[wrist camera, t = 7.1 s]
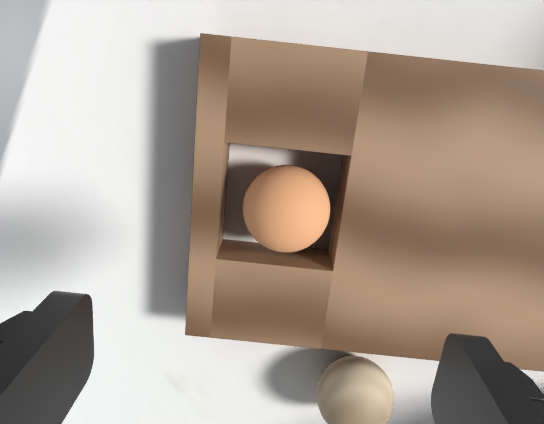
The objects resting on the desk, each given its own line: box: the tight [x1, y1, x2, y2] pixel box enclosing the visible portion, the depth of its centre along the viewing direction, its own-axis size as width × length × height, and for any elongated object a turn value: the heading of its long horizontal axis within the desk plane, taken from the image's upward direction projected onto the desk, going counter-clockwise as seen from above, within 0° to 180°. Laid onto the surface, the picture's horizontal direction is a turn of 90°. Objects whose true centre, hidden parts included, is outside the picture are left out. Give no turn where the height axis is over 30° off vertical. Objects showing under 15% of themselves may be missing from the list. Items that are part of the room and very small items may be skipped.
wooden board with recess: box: [185, 33, 544, 371], centre depth 22 cm, size 14×20×2 cm
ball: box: [243, 165, 330, 252], centre depth 21 cm, size 4×4×4 cm
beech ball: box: [317, 356, 394, 424], centre depth 24 cm, size 4×4×4 cm
